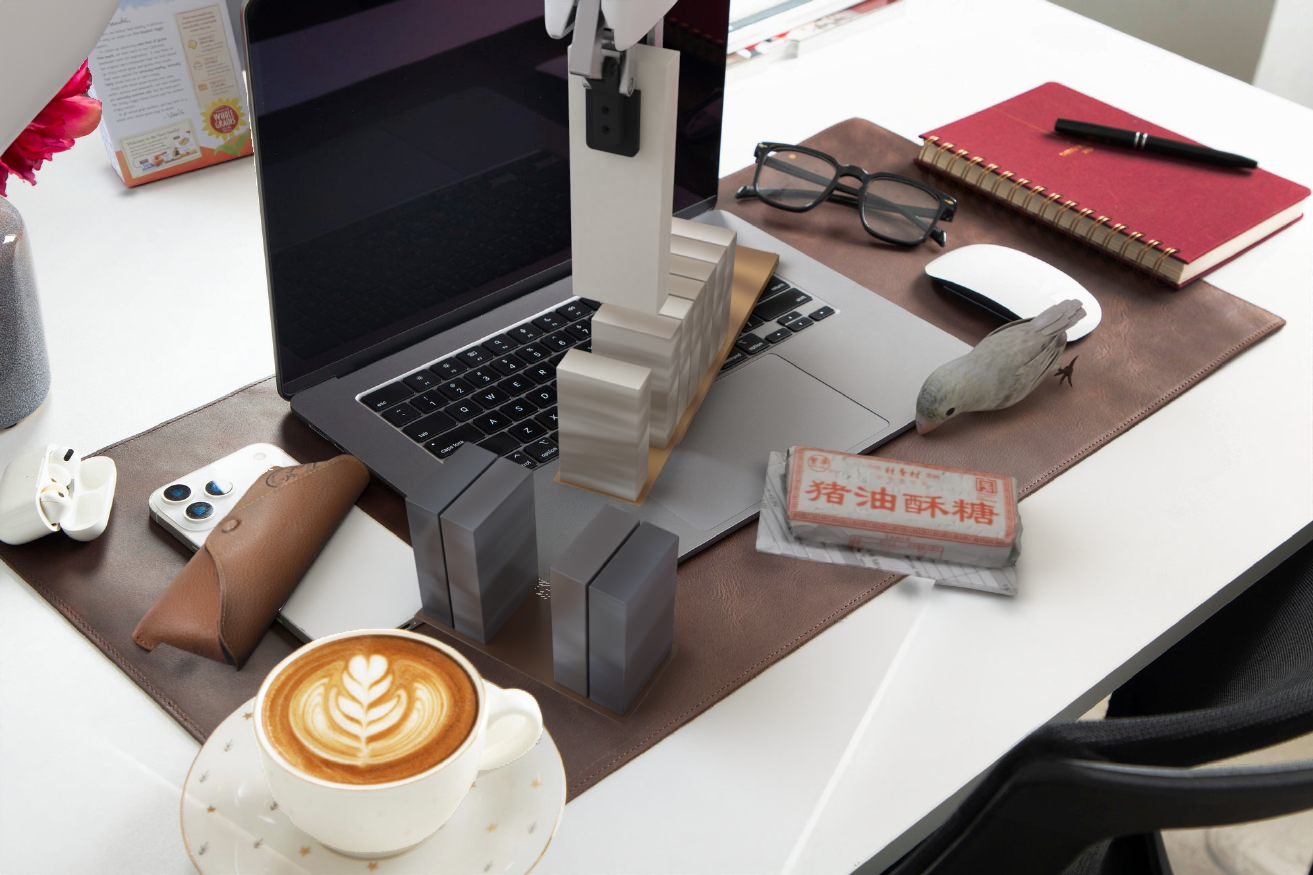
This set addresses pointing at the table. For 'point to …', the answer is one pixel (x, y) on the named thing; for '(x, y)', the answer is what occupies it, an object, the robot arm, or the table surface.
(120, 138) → the cracker box
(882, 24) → the table surface
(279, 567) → the sunglasses case
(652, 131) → the cream book
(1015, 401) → the decorative bird
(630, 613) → the grey book rack
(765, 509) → the packaged product
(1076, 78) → the table surface
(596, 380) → the cream book rack
